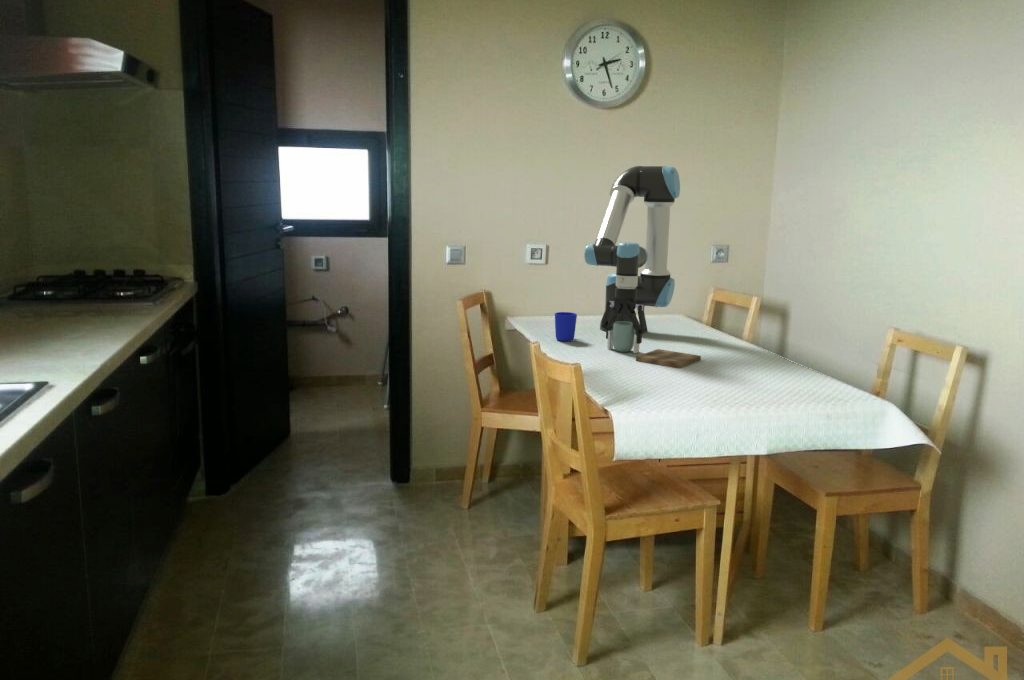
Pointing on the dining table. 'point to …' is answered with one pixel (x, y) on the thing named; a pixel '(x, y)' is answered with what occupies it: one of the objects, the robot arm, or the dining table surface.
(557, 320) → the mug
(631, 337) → the cup
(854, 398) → the dining table surface
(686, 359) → the board
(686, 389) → the dining table surface
